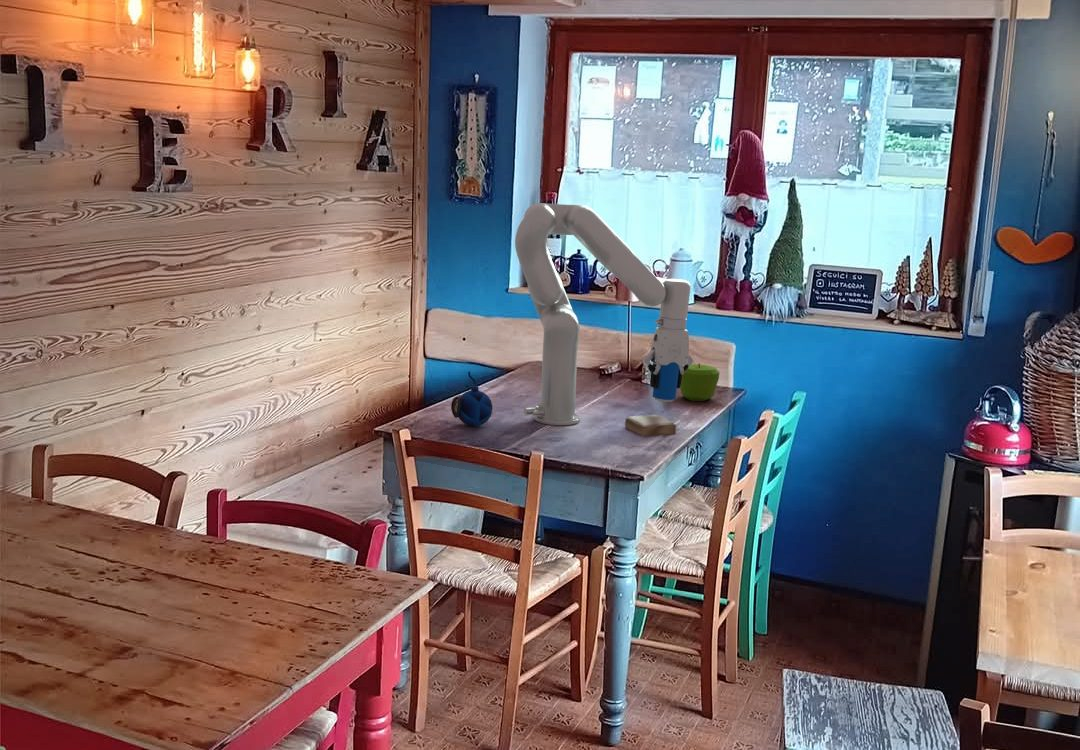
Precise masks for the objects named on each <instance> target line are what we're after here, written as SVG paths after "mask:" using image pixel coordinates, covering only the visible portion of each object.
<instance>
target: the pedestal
mask: <svg viewBox="0 0 1080 750" xmlns="http://www.w3.org/2000/svg"><path fill="white" fill-rule="evenodd" d="M624 421H625V423H624V427H625V428H626V429H628V430H630V431H632V432H634V433H636V434H638V435H640V436H642V437H650V436H652V437H653V436H663V435H674V434H676V433H677V432H676V431H677V424H676V423H675V422H674V421H671V420H669V419H667V418H665V417H663V416H661V415H659V414H649V415H635V416H634V415H633V416H632V415H631V416H627V418H625V420H624Z"/></svg>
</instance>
